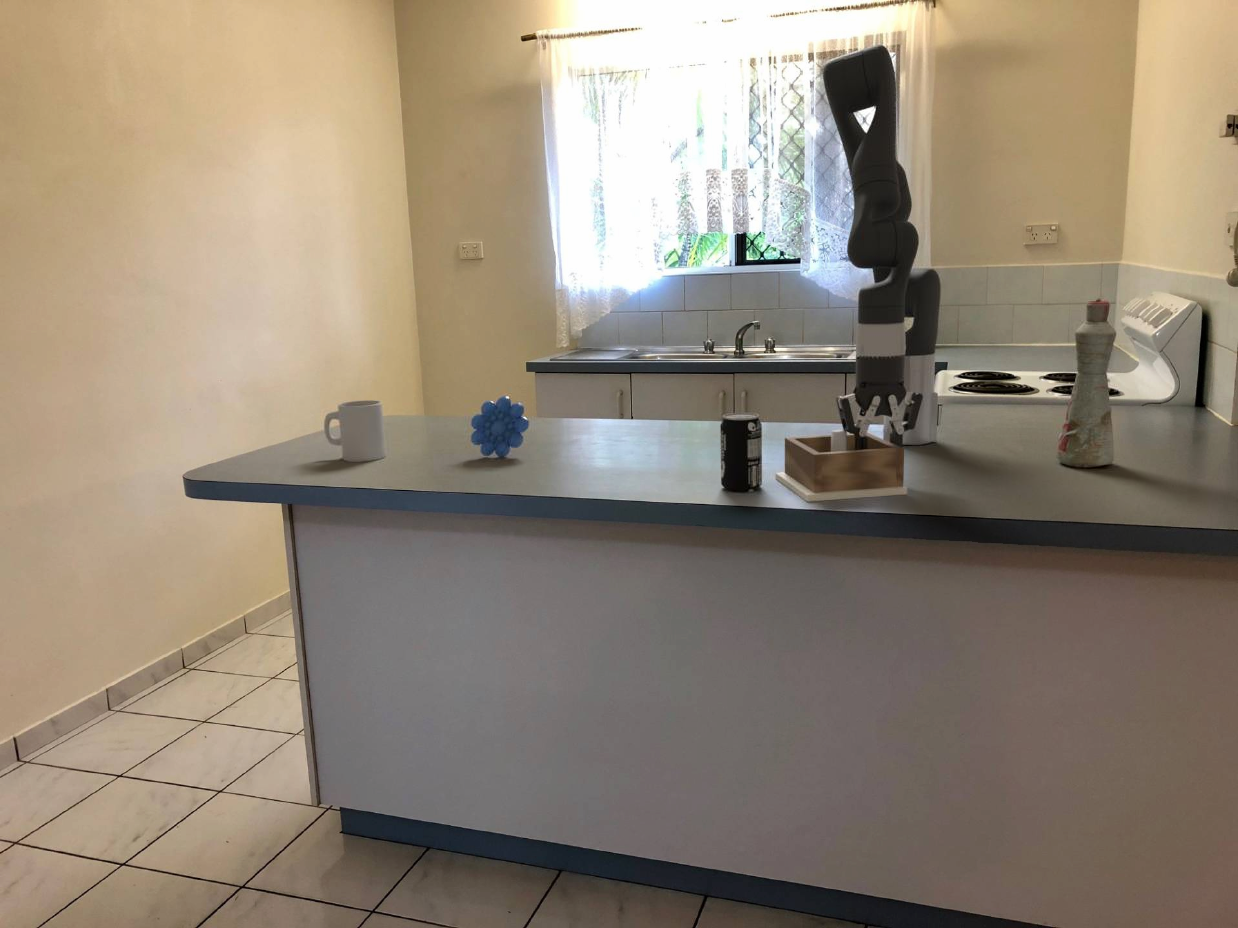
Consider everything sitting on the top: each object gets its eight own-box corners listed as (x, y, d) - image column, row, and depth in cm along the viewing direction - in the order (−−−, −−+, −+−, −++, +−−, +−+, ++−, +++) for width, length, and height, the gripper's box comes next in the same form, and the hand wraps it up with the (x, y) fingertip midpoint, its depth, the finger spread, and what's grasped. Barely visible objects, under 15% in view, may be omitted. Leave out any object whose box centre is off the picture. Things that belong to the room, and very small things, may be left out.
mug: (392, 452, 195) (387, 399, 192) (378, 461, 186) (373, 406, 184) (335, 453, 196) (330, 401, 194) (319, 462, 188) (313, 407, 185)
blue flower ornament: (534, 452, 190) (531, 392, 187) (528, 459, 183) (525, 397, 181) (477, 453, 191) (472, 394, 188) (469, 460, 184) (465, 399, 182)
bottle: (1091, 472, 156) (1103, 300, 150) (1044, 463, 164) (1054, 299, 158) (1125, 465, 160) (1138, 297, 154) (1078, 456, 168) (1089, 296, 162)
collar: (866, 467, 161) (867, 432, 160) (903, 486, 147) (904, 448, 146) (784, 472, 159) (784, 437, 158) (813, 493, 146) (814, 454, 144)
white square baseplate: (866, 472, 162) (867, 420, 160) (906, 494, 147) (908, 437, 145) (775, 478, 160) (775, 425, 158) (807, 501, 145) (807, 443, 143)
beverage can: (717, 484, 157) (716, 413, 155) (756, 482, 158) (756, 411, 155) (725, 494, 151) (724, 419, 148) (766, 491, 151) (765, 417, 149)
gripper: (913, 347, 154) (910, 450, 158) (828, 352, 152) (827, 456, 156) (934, 351, 147) (930, 459, 151) (845, 356, 145) (844, 465, 149)
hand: (878, 457), depth 153 cm, fingers open, 4 cm apart
